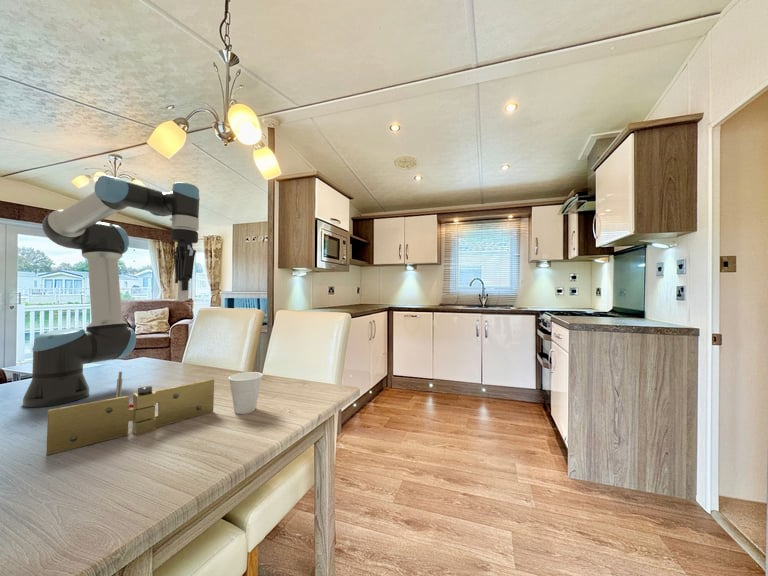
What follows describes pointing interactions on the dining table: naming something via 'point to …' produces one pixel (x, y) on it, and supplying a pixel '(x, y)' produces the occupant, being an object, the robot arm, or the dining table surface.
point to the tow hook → (120, 387)
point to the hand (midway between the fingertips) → (182, 300)
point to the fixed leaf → (174, 404)
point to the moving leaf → (91, 423)
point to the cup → (245, 391)
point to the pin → (144, 391)
